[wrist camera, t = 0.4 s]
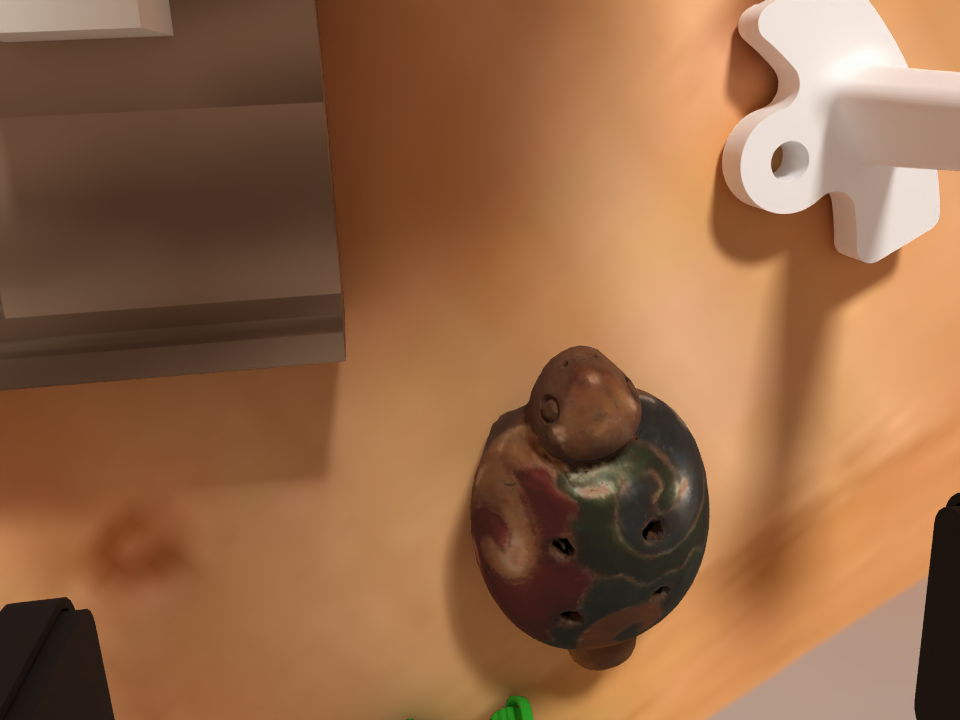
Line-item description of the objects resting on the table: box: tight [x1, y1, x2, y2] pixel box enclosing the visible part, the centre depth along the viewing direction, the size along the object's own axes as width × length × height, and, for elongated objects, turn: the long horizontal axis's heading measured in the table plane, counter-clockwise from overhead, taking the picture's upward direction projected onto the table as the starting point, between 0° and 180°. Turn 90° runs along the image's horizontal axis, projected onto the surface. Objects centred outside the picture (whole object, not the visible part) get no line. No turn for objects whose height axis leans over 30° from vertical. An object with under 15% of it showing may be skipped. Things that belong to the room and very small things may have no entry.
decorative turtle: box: [471, 346, 709, 670], centre depth 37 cm, size 10×15×8 cm, turn 15°
